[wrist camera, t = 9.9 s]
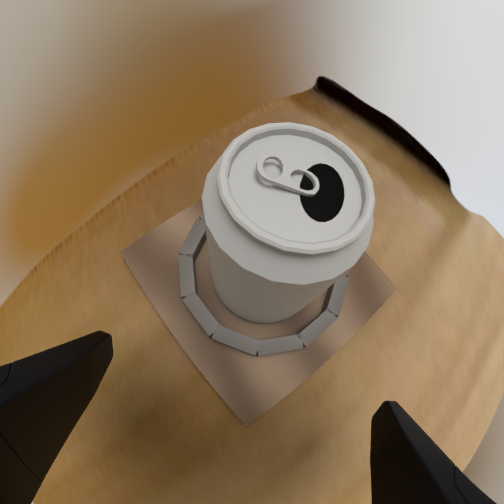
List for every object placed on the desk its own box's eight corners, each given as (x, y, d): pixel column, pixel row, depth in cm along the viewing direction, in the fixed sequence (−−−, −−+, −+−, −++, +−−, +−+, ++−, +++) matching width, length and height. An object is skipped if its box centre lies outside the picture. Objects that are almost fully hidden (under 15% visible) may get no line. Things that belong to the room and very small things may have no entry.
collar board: (245, 423, 18) (247, 431, 16) (124, 257, 22) (113, 244, 20) (389, 292, 23) (406, 283, 20) (272, 165, 27) (277, 146, 24)
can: (300, 336, 20) (387, 294, 9) (198, 308, 20) (165, 232, 9) (319, 244, 23) (389, 140, 12) (229, 218, 23) (234, 94, 12)
